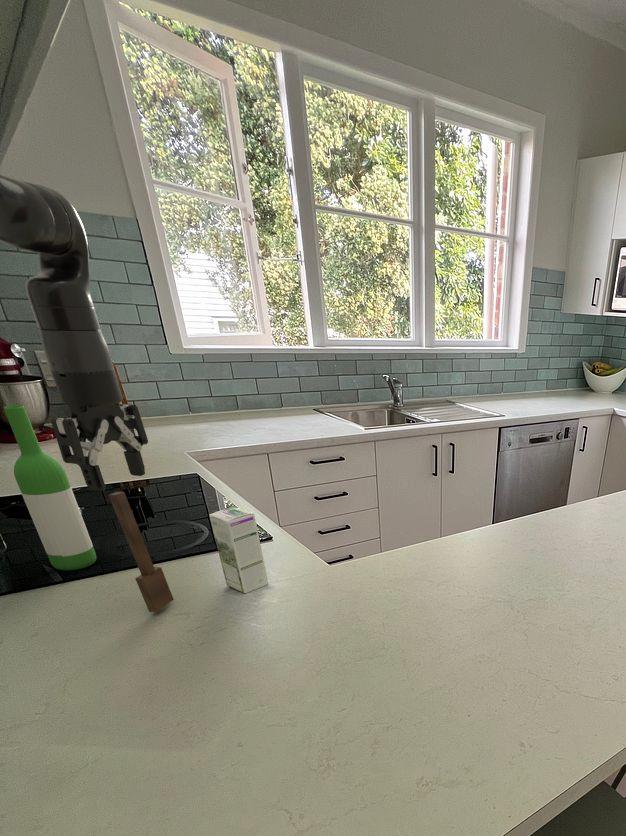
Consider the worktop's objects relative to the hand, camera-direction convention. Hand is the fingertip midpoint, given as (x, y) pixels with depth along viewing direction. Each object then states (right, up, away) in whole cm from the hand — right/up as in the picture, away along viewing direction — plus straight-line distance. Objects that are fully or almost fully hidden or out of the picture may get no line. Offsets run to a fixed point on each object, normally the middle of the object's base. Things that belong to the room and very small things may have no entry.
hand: (119, 482), depth 84 cm
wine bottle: (-26, -9, +26) cm, 38 cm away
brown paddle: (-1, -10, +6) cm, 12 cm away
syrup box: (+11, -14, +21) cm, 28 cm away
